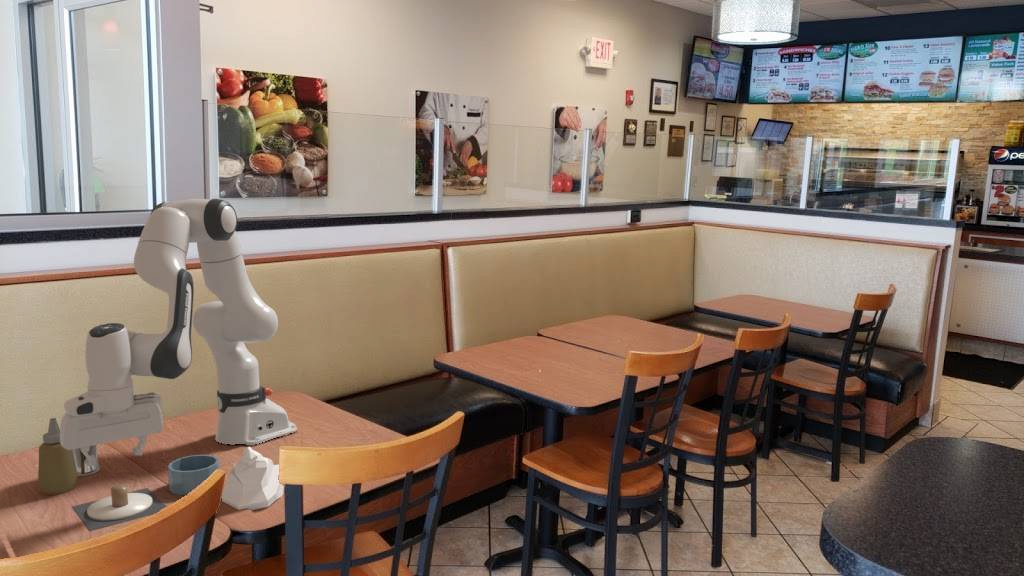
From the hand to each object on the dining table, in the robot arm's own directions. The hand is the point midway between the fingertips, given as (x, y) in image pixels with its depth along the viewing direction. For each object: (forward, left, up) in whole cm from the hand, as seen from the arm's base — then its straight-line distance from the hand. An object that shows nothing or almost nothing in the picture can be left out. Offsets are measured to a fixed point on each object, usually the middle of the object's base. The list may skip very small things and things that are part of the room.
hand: (115, 460), depth 172 cm
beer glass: (0, -31, -12) cm, 33 cm away
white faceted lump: (-26, +14, -12) cm, 32 cm away
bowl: (-17, -2, -12) cm, 21 cm away
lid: (0, 0, -11) cm, 11 cm away
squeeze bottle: (+8, -21, -12) cm, 26 cm away
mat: (0, 0, -12) cm, 12 cm away
